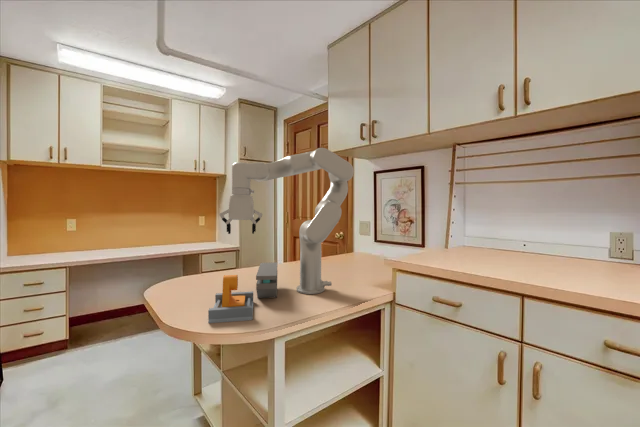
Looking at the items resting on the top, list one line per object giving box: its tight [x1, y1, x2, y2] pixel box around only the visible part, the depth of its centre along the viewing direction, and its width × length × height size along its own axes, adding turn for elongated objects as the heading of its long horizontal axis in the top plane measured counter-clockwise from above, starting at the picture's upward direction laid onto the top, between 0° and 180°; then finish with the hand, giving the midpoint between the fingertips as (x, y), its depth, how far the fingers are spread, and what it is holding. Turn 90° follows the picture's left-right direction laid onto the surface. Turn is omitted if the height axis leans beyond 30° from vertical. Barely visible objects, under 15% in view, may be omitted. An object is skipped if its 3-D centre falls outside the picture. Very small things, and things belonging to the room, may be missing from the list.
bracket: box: [221, 274, 245, 307], centre depth 105 cm, size 11×7×12 cm, turn 12°
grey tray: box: [207, 290, 254, 324], centre depth 105 cm, size 14×18×4 cm
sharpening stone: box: [255, 262, 278, 299], centre depth 127 cm, size 25×8×11 cm, turn 7°
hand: (241, 233), depth 122 cm, fingers open, 9 cm apart
